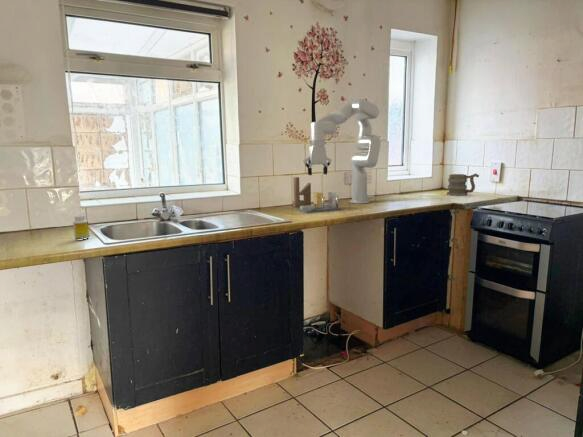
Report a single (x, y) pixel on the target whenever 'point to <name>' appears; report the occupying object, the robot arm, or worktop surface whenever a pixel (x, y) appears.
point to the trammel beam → (331, 201)
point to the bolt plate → (319, 209)
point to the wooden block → (301, 193)
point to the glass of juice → (80, 227)
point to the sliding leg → (318, 199)
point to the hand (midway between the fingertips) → (317, 174)
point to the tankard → (460, 184)
